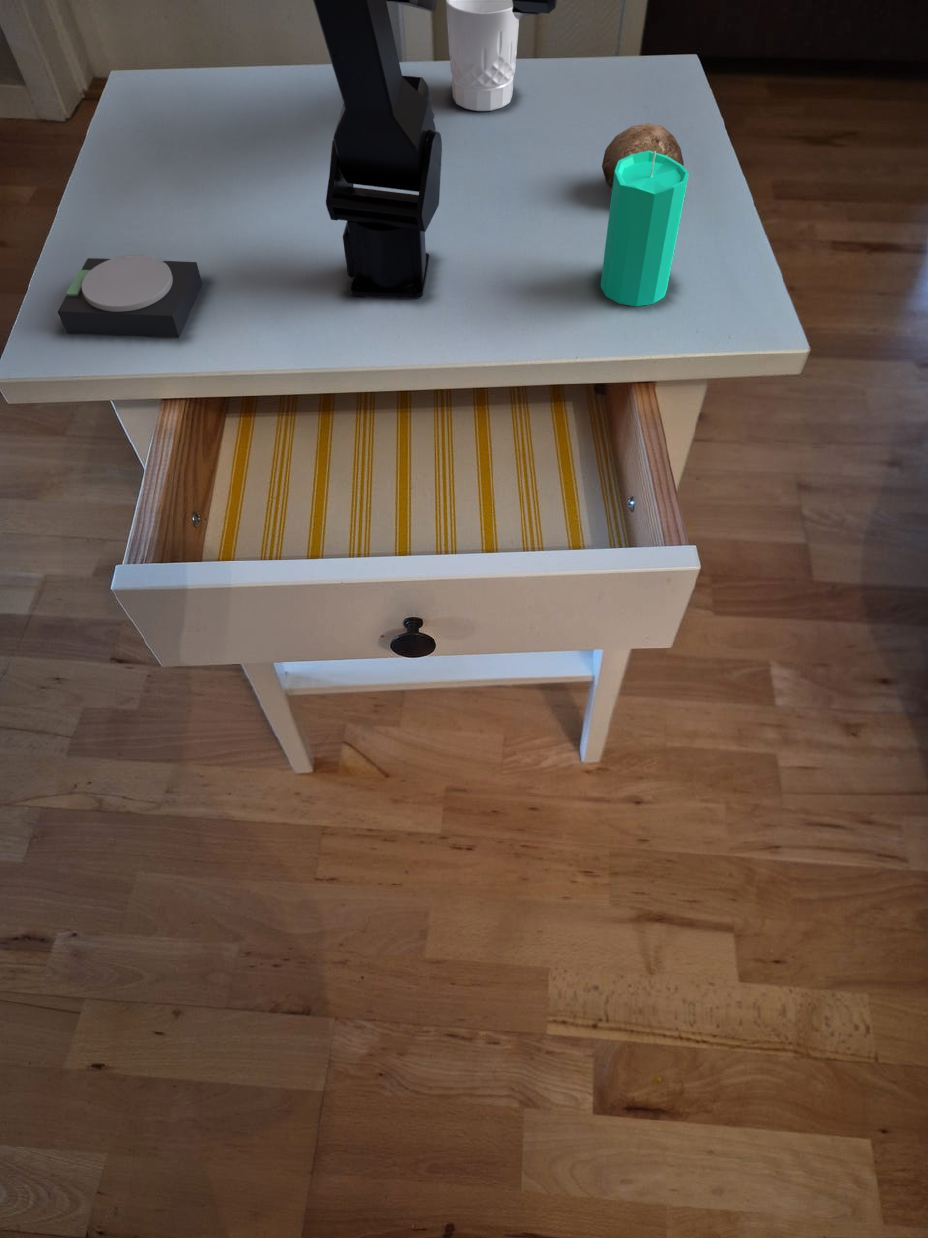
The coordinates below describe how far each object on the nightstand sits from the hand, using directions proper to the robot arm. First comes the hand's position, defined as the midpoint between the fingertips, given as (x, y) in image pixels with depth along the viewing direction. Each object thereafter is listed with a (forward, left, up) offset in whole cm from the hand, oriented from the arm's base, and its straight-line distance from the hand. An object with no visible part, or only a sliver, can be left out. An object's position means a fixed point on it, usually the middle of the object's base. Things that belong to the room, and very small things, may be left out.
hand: (477, 10), depth 94 cm
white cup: (0, -3, -10) cm, 10 cm away
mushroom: (-17, +17, -10) cm, 26 cm away
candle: (-16, +33, -10) cm, 38 cm away
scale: (+28, +39, -10) cm, 49 cm away
